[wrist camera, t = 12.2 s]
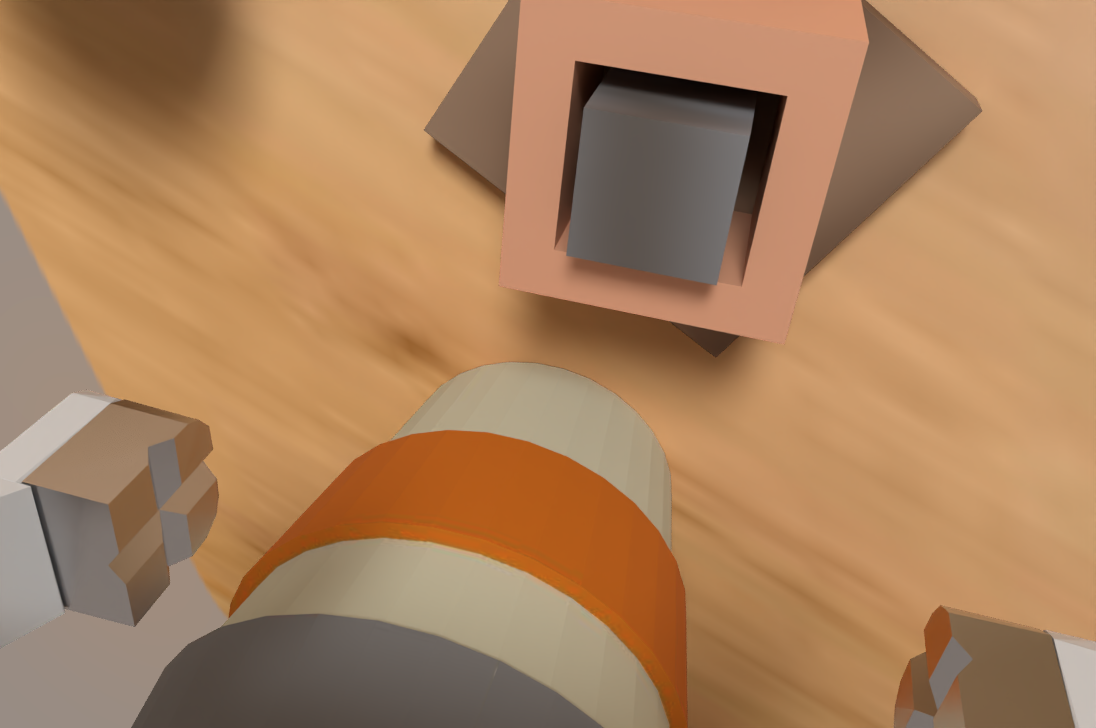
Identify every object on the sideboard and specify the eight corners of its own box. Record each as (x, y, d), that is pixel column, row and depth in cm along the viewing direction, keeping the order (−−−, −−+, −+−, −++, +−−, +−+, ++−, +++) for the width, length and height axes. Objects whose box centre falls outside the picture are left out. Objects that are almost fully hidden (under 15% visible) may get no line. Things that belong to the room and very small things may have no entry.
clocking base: (976, 98, 22) (1021, 194, 17) (718, 339, 27) (697, 468, 22) (643, -196, 20) (589, -183, 15) (436, 118, 25) (344, 203, 20)
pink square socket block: (860, -3, 20) (868, 42, 17) (788, 265, 24) (784, 344, 21) (566, -47, 21) (521, -13, 18) (540, 218, 25) (498, 286, 22)
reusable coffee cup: (705, 296, 26) (609, 764, 14) (746, 618, 32) (704, 1140, 20) (312, 322, 30) (-36, 709, 18) (415, 607, 36) (209, 1040, 24)
